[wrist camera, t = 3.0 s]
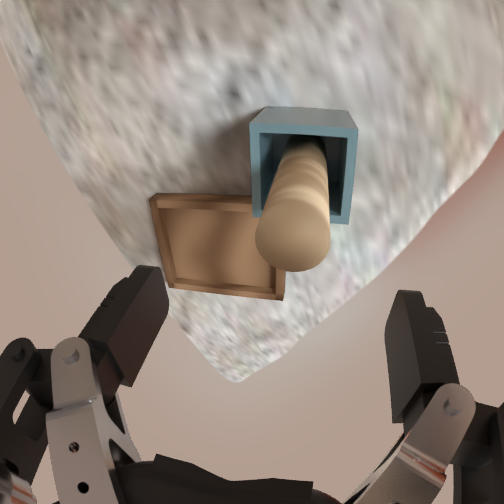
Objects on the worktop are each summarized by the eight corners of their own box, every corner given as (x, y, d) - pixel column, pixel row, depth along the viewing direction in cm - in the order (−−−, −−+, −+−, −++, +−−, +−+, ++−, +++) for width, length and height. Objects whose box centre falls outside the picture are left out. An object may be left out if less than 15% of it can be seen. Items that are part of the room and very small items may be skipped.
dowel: (326, 131, 23) (333, 210, 12) (324, 168, 25) (326, 274, 14) (286, 128, 24) (253, 205, 13) (286, 165, 26) (255, 268, 15)
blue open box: (347, 110, 23) (358, 129, 17) (342, 185, 27) (348, 224, 21) (266, 106, 24) (249, 123, 18) (267, 179, 28) (252, 217, 22)
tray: (287, 198, 28) (286, 206, 27) (284, 290, 35) (283, 300, 33) (156, 193, 31) (149, 200, 29) (173, 278, 37) (168, 287, 36)
